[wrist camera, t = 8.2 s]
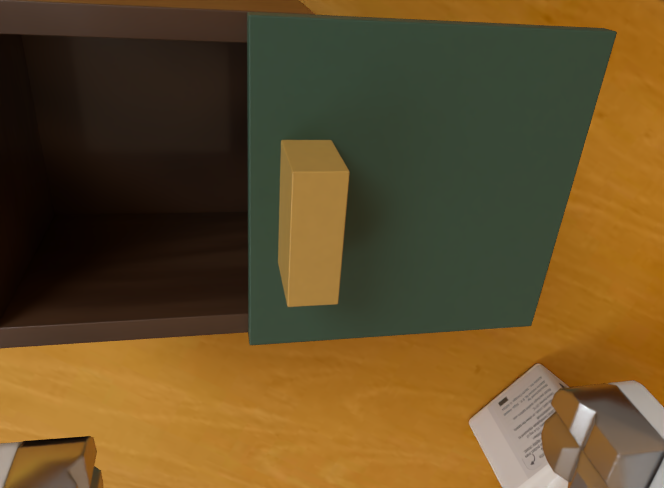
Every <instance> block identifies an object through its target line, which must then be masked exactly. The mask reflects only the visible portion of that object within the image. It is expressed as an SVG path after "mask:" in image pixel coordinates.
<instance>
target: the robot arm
mask: <svg viewBox="0 0 664 488" xmlns="http://www.w3.org/2000/svg"><path fill="white" fill-rule="evenodd" d="M551 405H552V407H553V408H554V410H555V412H554V413H553V414H552V415H551V416H550V417H549V418H548V419H547V420H546V421H545V423H544V426H543V430H542V433H541V438H542V447H543V451H544V454H545V457H546V459H547V462H548V463H549V465H550V467H551V468H552V470H553V472H554V473H556V474H557V475H559V476H560V477H562V478H563V479H565V480H566V481H568V488H664V407H663V406H662V405H661V404H660V403H659V402H658V401H657V400H656V399H655V398H654V397H653V396H652V394H651V393H650V392H649V391H648V390H647V389H646V388H645V387H644V386H643V385H642V384H640V383H638V382H636V381H634V380H633V381H623V382H614V383H608V384H606V383H603V384H594V385H585V386H576V387H568V388H560V389H559V390H558V391H557V392H556V393H555V394H554V396H553V399H552V402H551ZM96 454H97V450H96V446H95V442H94V438H93V437H91V436H86V437H73V438H60V439H46V440H33V441H23V442H14V443H1V444H0V488H103V479H102V474H101V470H99V469H98V468H96V467H95V466H94V464H95V459H96Z"/></svg>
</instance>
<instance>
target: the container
mask: <svg viewBox="0 0 664 488" xmlns="http://www.w3.org/2000/svg"><path fill="white" fill-rule="evenodd" d="M568 387H569V386H567V385H566V384H565V383H564V382H563V381H561V380H560V379H559V378H558V377H556V376H555V375H554V374H553V373H552V372H550V371H549V370H548V369H547V368H545V367H544V366H543V365H542V364H535V365H534V366H533V367H532V368H530V369H529V370H528V371H527V372H526V373H524V374H523V375H522V376H521V377H520V378H519V379H517V380H516V381H515V382H514V383H513V384H511V385H510V386H509V387H508V388H507V389H505V390H504V391H503V392H502V393H501V394H499V395H498V396H497V397H496V398H495V399H493V400H492V401H491V402H490V403H489V404H487V405H486V406H485V407H484V408H483V409H481V410H480V411H479V412H478V413H477V414H475V415H474V416H473V417H472V418H471V419H470V420H469V425H470V427H471V429H472V431H473V433H474V435H475V437H476V438H477V440H478V442H479V444H480V446H481V448H482V450H483V452H484V454H485V456H486V458H487V459H488V461H489V463H490V465H491V467H492V469H493V471H494V473H495V475H496V477H497V479H498V480H499V482H500V484H501V486H502V488H568V481H566V480H565V479H563V478H562V477H560V476H559V475H557V474H556V473H554V472H553V470H552V468H551V467H550V465H549V463H548V462H547V459H546V457H545V454H544V451H543V447H542V438H541V433H542V430H543V426H544V423H545V421H546V420H547V419H548V418H549V417H550V416H551V415H552V414H553V413H554V412H555V410H554V408H553V407H552V405H551V402H552V399H553V396H554V394H555V393H556V392H557V391H558V390H559V389H560V388H568Z"/></svg>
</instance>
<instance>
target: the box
mask: <svg viewBox="0 0 664 488" xmlns="http://www.w3.org/2000/svg"><path fill="white" fill-rule="evenodd" d="M248 12H266V13H287V14H308V15H316V14H314V13H313V12H312V11H311V10H310V9H308V8H307V7H306V6H305V5H304V4H302V3H301V2H300V1H299V0H0V348H12V347H27V346H43V345H58V344H73V343H89V342H104V341H120V340H135V339H151V338H166V337H182V336H197V335H213V334H228V333H244V332H248V119H247V13H248Z"/></svg>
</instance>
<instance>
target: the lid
mask: <svg viewBox="0 0 664 488" xmlns="http://www.w3.org/2000/svg"><path fill="white" fill-rule="evenodd" d="M616 34H617V32H615V31H612V30H608V29H605V28H587V27H565V26H544V25H522V24H501V23H480V22H458V21H437V20H415V19H394V18H373V17H351V16H330V15H308V14H287V13H266V12H248V13H247V119H248V335H249V344H250V345H262V344H276V343H291V342H305V341H320V340H334V339H349V338H363V337H378V336H392V335H406V334H421V333H435V332H450V331H464V330H479V329H493V328H508V327H522V326H531V324H532V321H533V318H534V314H535V311H536V307H537V304H538V300H539V297H540V294H541V290H542V287H543V283H544V280H545V277H546V273H547V270H548V266H549V263H550V259H551V256H552V253H553V249H554V246H555V242H556V239H557V235H558V232H559V229H560V225H561V222H562V218H563V215H564V212H565V208H566V205H567V201H568V198H569V194H570V191H571V188H572V184H573V181H574V177H575V174H576V170H577V167H578V164H579V160H580V157H581V153H582V150H583V147H584V143H585V140H586V136H587V133H588V129H589V126H590V123H591V119H592V116H593V112H594V109H595V105H596V102H597V99H598V95H599V92H600V88H601V85H602V82H603V78H604V75H605V71H606V68H607V64H608V61H609V58H610V54H611V51H612V47H613V44H614V40H615V37H616Z"/></svg>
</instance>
